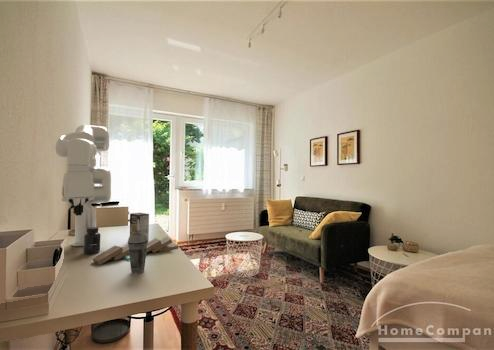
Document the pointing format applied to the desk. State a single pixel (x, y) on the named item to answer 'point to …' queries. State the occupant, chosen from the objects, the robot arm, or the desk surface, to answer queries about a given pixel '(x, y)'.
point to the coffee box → (142, 223)
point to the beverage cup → (137, 250)
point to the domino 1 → (107, 255)
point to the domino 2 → (122, 254)
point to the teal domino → (127, 257)
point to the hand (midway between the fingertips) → (78, 214)
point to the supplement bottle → (91, 241)
